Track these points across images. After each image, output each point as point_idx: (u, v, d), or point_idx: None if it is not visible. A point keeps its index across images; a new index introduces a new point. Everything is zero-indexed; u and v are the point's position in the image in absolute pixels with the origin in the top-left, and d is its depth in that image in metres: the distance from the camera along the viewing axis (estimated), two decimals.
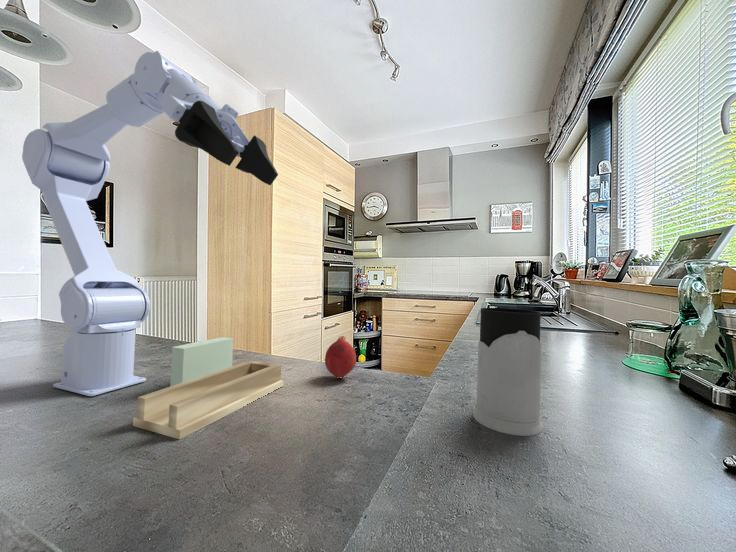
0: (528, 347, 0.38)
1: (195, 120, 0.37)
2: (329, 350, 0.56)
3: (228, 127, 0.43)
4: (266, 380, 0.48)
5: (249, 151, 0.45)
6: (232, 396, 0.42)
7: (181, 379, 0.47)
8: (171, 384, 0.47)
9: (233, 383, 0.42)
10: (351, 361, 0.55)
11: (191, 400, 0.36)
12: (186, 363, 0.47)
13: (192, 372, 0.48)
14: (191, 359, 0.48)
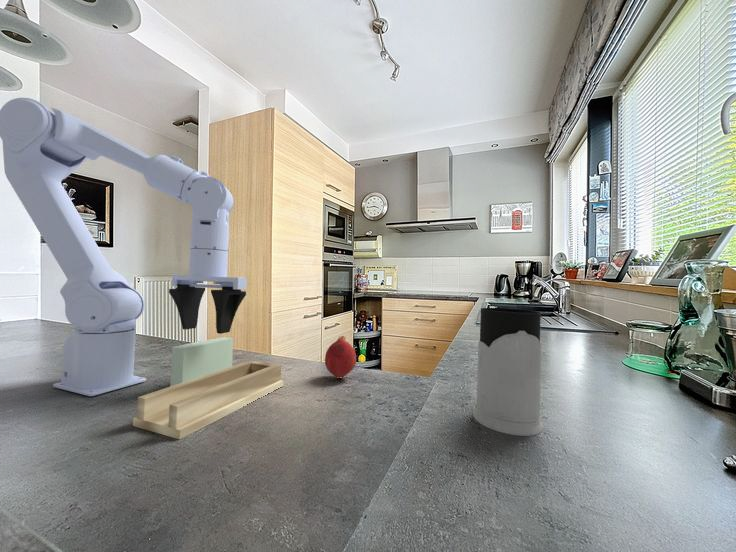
0: (528, 347, 0.38)
1: None
2: (329, 350, 0.56)
3: None
4: (266, 380, 0.48)
5: (194, 293, 0.54)
6: (232, 396, 0.42)
7: (181, 379, 0.47)
8: (171, 384, 0.47)
9: (233, 383, 0.42)
10: (351, 361, 0.55)
11: (191, 400, 0.36)
12: (186, 363, 0.47)
13: (192, 372, 0.48)
14: (191, 359, 0.48)
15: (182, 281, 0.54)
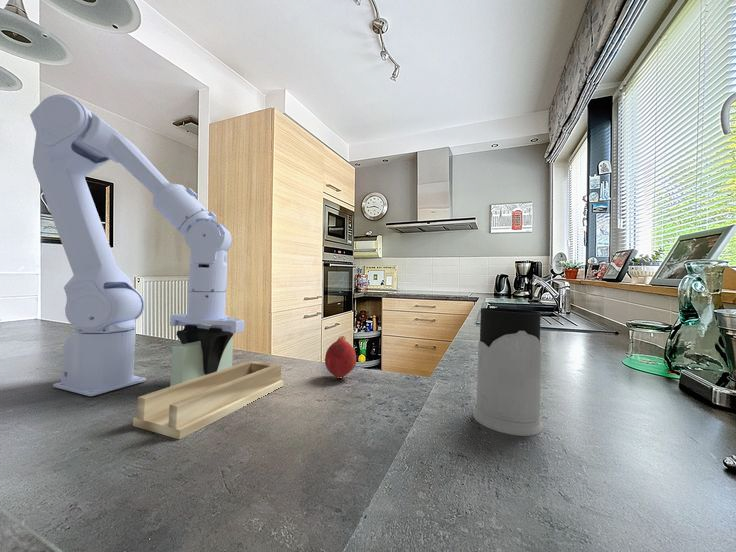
0: (528, 347, 0.38)
1: None
2: (329, 350, 0.56)
3: None
4: (266, 380, 0.48)
5: None
6: (232, 396, 0.42)
7: (181, 378, 0.47)
8: (171, 383, 0.47)
9: (233, 383, 0.42)
10: (351, 361, 0.55)
11: (191, 400, 0.36)
12: (186, 362, 0.47)
13: (192, 371, 0.48)
14: (191, 359, 0.48)
15: (180, 321, 0.54)
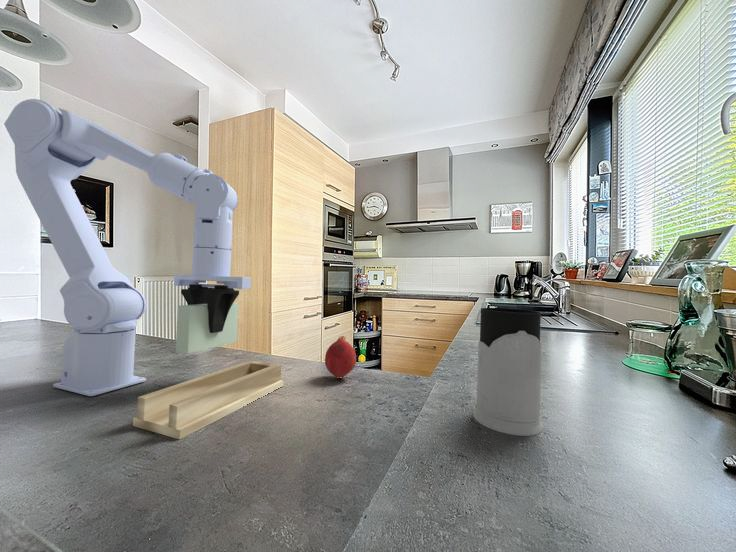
0: (528, 347, 0.38)
1: None
2: (329, 350, 0.56)
3: None
4: (266, 380, 0.48)
5: None
6: (232, 396, 0.42)
7: (188, 337, 0.46)
8: (177, 343, 0.47)
9: (233, 383, 0.42)
10: (351, 361, 0.55)
11: (191, 400, 0.36)
12: (193, 321, 0.47)
13: (198, 332, 0.48)
14: (197, 318, 0.47)
15: (184, 281, 0.53)
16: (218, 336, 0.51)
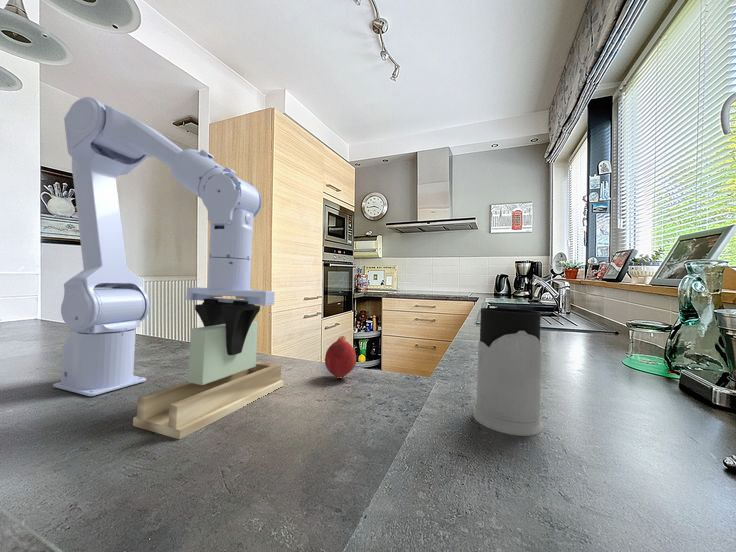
0: (528, 347, 0.38)
1: None
2: (329, 350, 0.56)
3: None
4: (266, 380, 0.48)
5: None
6: (232, 396, 0.42)
7: (202, 366, 0.40)
8: (190, 373, 0.40)
9: (233, 383, 0.42)
10: (351, 361, 0.55)
11: (191, 400, 0.36)
12: (208, 348, 0.40)
13: (214, 359, 0.41)
14: (212, 344, 0.41)
15: (198, 294, 0.46)
16: (236, 362, 0.45)
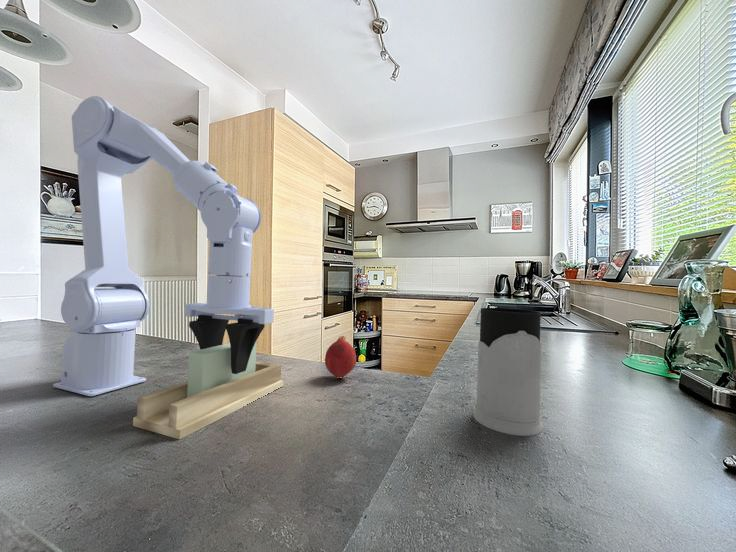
0: (528, 347, 0.38)
1: None
2: (329, 350, 0.56)
3: None
4: (266, 380, 0.48)
5: (217, 325, 0.46)
6: (232, 396, 0.42)
7: (201, 390, 0.39)
8: (188, 396, 0.40)
9: (233, 383, 0.42)
10: (351, 361, 0.55)
11: (191, 400, 0.36)
12: (206, 371, 0.40)
13: (212, 382, 0.41)
14: (211, 367, 0.41)
15: (197, 311, 0.46)
16: None
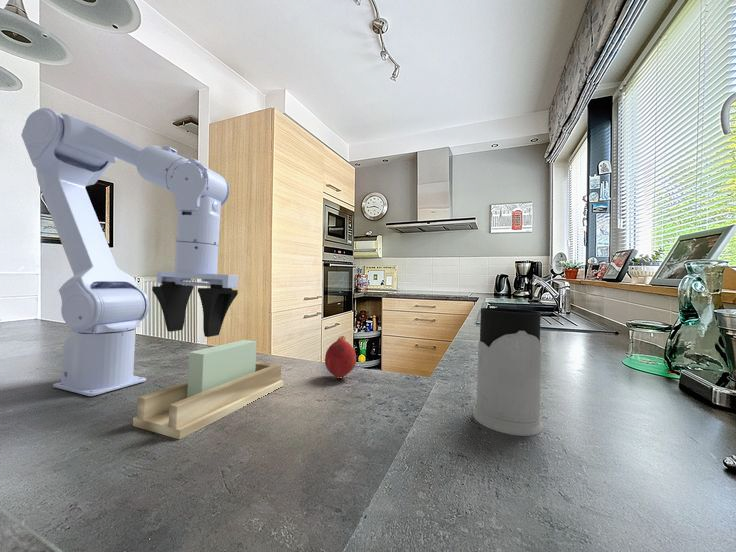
0: (528, 347, 0.38)
1: None
2: (329, 350, 0.56)
3: None
4: (266, 380, 0.48)
5: (180, 291, 0.49)
6: (232, 396, 0.42)
7: (201, 390, 0.39)
8: (188, 396, 0.40)
9: (233, 383, 0.42)
10: (351, 361, 0.55)
11: (191, 400, 0.36)
12: (206, 371, 0.40)
13: (212, 382, 0.41)
14: (211, 367, 0.41)
15: (168, 278, 0.49)
16: None
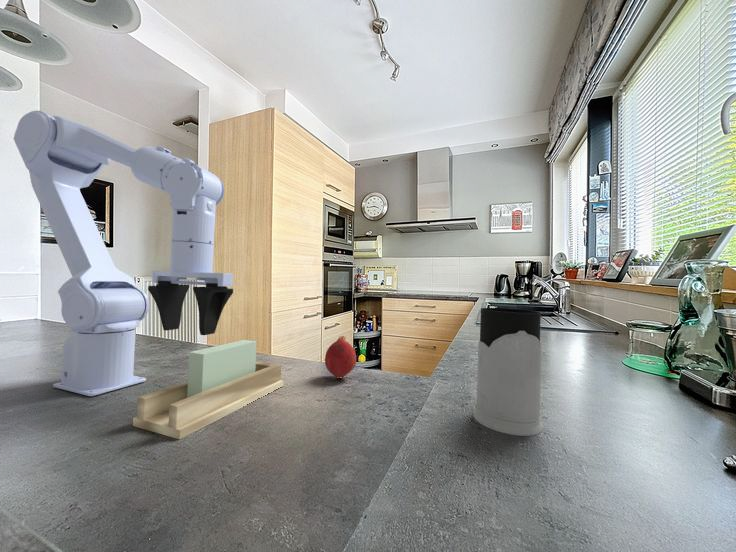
0: (528, 347, 0.38)
1: None
2: (329, 350, 0.56)
3: None
4: (266, 380, 0.48)
5: (176, 291, 0.49)
6: (232, 396, 0.42)
7: (201, 390, 0.39)
8: (188, 396, 0.40)
9: (233, 383, 0.42)
10: (351, 361, 0.55)
11: (191, 400, 0.36)
12: (206, 371, 0.40)
13: (212, 382, 0.41)
14: (211, 367, 0.41)
15: (163, 277, 0.49)
16: None
